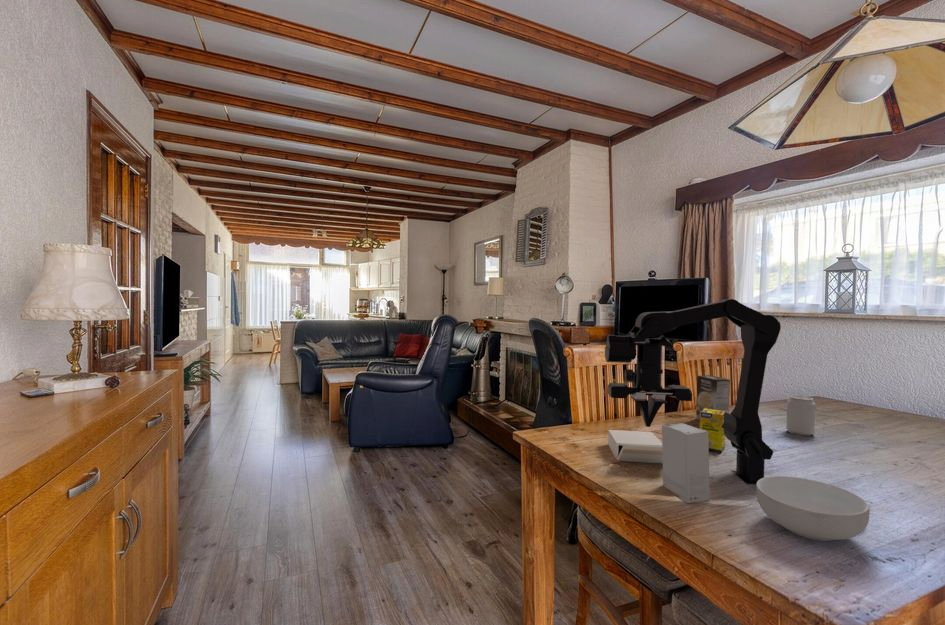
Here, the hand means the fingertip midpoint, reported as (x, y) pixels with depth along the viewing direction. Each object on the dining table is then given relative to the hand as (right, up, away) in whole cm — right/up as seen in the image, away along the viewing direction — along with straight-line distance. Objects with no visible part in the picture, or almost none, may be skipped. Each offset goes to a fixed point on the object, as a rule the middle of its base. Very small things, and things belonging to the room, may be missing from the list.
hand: (647, 426), depth 108 cm
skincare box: (+3, -12, -12) cm, 17 cm away
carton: (+1, -11, +12) cm, 17 cm away
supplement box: (+26, -12, +19) cm, 35 cm away
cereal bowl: (+20, -13, -26) cm, 35 cm away
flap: (+1, -11, +6) cm, 12 cm away
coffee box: (+42, -11, +48) cm, 65 cm away
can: (+65, -12, +36) cm, 75 cm away
